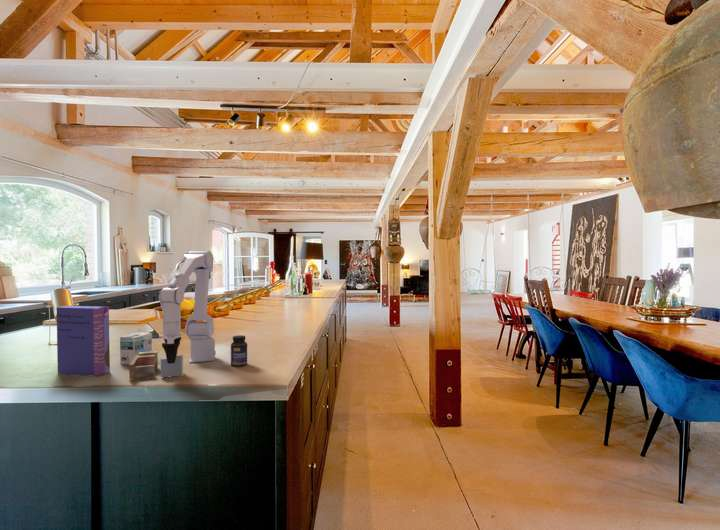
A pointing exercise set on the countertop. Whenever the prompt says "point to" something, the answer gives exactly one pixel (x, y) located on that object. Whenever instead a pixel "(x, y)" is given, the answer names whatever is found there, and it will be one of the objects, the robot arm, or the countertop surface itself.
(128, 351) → the light bulb box
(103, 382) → the countertop surface
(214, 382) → the countertop surface
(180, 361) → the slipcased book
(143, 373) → the shelf
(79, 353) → the cereal box
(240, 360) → the pill bottle
